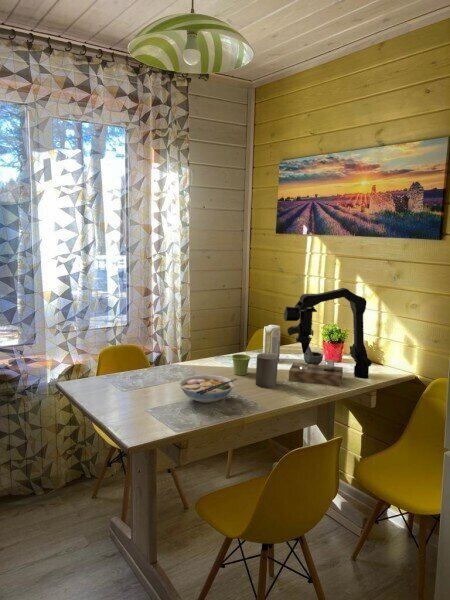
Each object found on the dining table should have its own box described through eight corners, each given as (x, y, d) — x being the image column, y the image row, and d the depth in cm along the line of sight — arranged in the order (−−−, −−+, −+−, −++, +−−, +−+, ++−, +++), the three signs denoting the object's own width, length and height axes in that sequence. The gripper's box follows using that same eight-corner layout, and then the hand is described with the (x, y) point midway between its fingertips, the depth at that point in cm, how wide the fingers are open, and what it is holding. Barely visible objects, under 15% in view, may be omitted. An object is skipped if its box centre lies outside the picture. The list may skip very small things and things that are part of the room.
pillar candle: (252, 385, 229) (253, 353, 227) (260, 379, 238) (262, 349, 236) (271, 389, 225) (273, 357, 223) (280, 383, 234) (281, 352, 231)
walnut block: (342, 377, 245) (342, 367, 244) (340, 386, 232) (341, 375, 231) (292, 372, 251) (293, 362, 250) (288, 380, 238) (289, 370, 237)
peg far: (307, 376, 244) (308, 366, 243) (307, 378, 240) (307, 368, 240) (299, 375, 245) (300, 365, 244) (298, 377, 241) (299, 367, 241)
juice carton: (280, 360, 273) (282, 325, 270) (273, 363, 265) (275, 328, 262) (268, 357, 276) (269, 323, 273) (260, 361, 269) (262, 326, 266)
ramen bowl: (205, 386, 227) (206, 369, 225) (246, 399, 212) (247, 380, 211) (165, 401, 207) (165, 382, 206) (207, 415, 193) (207, 395, 192)
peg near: (333, 370, 240) (334, 360, 240) (333, 372, 237) (333, 362, 236) (325, 369, 242) (325, 359, 241) (324, 371, 238) (325, 361, 237)
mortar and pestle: (326, 368, 260) (327, 345, 258) (313, 371, 254) (315, 347, 252) (309, 362, 269) (310, 340, 267) (297, 365, 263) (298, 343, 261)
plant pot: (250, 371, 251) (251, 354, 250) (249, 377, 242) (250, 359, 240) (231, 370, 252) (232, 353, 250) (230, 376, 243) (230, 358, 241)
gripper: (291, 316, 249) (290, 347, 252) (286, 323, 232) (284, 356, 234) (314, 317, 247) (312, 349, 249) (310, 325, 229) (308, 358, 231)
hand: (304, 353), depth 241 cm, fingers closed
